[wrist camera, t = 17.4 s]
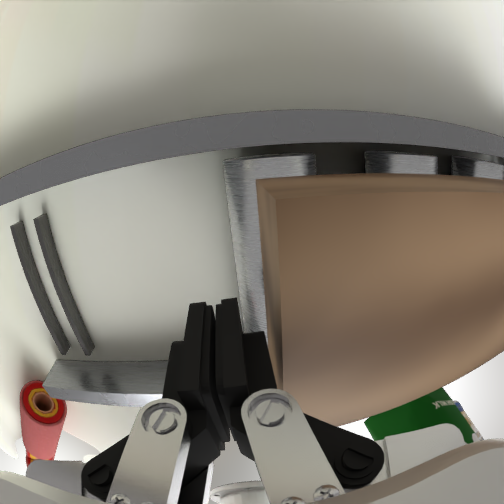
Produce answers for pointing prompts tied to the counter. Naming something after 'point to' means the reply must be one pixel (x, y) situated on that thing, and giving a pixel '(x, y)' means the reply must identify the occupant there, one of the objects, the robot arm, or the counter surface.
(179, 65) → the counter surface
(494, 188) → the slab
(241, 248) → the roller
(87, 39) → the counter surface
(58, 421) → the artery
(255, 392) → the robot arm
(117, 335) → the counter surface
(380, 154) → the roller
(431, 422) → the milk carton
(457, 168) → the roller
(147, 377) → the track
